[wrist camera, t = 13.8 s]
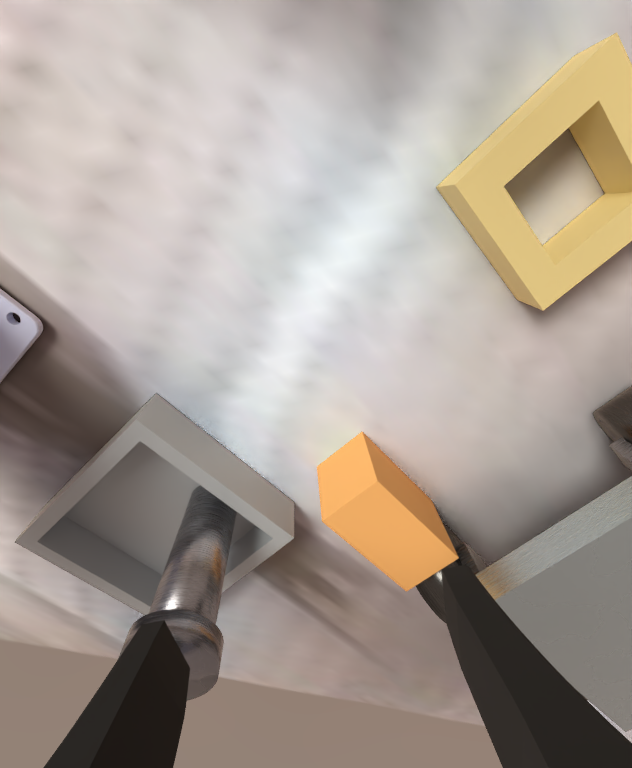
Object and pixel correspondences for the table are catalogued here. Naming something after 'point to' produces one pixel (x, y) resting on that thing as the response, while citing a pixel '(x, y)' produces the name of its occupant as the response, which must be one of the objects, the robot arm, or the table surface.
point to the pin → (195, 588)
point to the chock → (382, 513)
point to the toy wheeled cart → (573, 584)
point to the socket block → (524, 143)
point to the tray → (154, 507)
